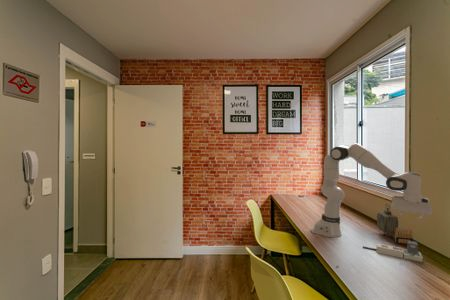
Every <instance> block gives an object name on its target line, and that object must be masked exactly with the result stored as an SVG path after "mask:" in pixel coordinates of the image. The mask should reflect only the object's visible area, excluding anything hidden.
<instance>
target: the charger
mask: <svg viewBox="0 0 450 300" xmlns="http://www.w3.org/2000/svg"><path fill="white" fill-rule="evenodd" d="M406 249H407V251H408V253H409V255H412V256H415V254H418V252H419V245H418V242H416V241H414V240H413V241H407V245H406Z"/></svg>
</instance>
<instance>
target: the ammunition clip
mask: <svg viewBox="0 0 450 300" xmlns="http://www.w3.org/2000/svg"><path fill="white" fill-rule="evenodd" d="M394 234H395V236H394V237H395V239H394V244H396V245H402V246H403V245H404V246H407V241H413V242H414V240H413V239H414V238H413V229H412V228H410V229H409V227H408V228H406V227H405V228H403V227H398V228H396V233H394Z"/></svg>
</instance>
